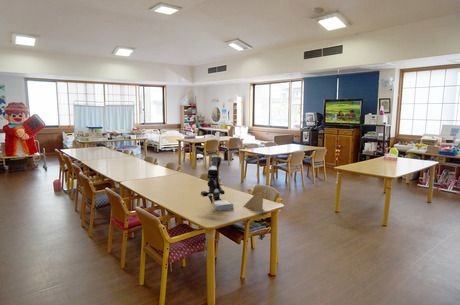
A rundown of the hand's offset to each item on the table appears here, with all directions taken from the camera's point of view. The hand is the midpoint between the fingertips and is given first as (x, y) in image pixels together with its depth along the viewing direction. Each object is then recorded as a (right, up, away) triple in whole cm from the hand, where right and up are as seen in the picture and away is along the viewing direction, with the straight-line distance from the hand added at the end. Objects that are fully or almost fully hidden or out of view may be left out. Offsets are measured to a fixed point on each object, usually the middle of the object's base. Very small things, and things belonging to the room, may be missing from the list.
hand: (212, 203), depth 247 cm
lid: (+6, -1, +3) cm, 7 cm away
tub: (+9, -5, +5) cm, 11 cm away
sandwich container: (+33, -6, +8) cm, 35 cm away
